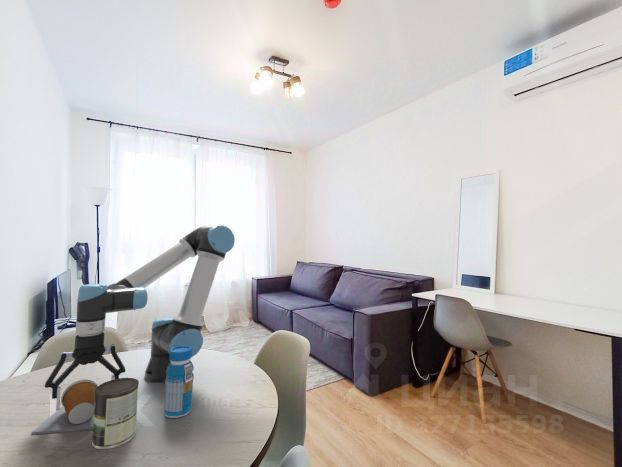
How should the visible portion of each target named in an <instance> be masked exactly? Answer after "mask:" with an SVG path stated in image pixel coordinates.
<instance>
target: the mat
mask: <svg viewBox="0 0 622 467" xmlns="http://www.w3.org/2000/svg"><path fill="white" fill-rule="evenodd" d="M93 425H94V414H93V416H92V417H91V418H90V419H89V420H88V421H86V422H84V423H81V424H72V423H70V422H69V420H68V418H67V414H66V411H65V408H64V406H63V405H62V406H61V407H60V408H59V410H57V411H56V410H55V412H54V413H53V414H51V415H49V417H47V419H46V420H45V421H43V422H42V423H41V424H39V426H37V427H35V429H33V431H32V432H31V436H32V435H41V434H43V435H44V434H53V433H54V434H55V433H66V432H77V431H88V430H93Z"/></svg>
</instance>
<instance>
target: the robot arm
mask: <svg viewBox="0 0 622 467" xmlns="http://www.w3.org/2000/svg"><path fill="white" fill-rule="evenodd" d="M234 245H235V235H234V233H233V230H232V229H230V228H229V227H228V226H226V225H223V224H214V225H212V224H211V225H203V226H199V227H198V228H196V229H193V231H190V232H189V233H188V234H187V235H185V236H183V237H181V239H179V241H178V243H176V244H175V245H174V246H172V247H171V248H169V249H168V250H166V251H164V252H162V253H161V254H160V255H158V256H157V257H155V258H154V259H152V260H150V261H149V262H147V263H146V264H144V265H143V266H141V267H139V268H137V269H136V270H135V271H134V272H132V273H130V274H128V275H127V276H126V277H124V278H122V279H121V280H119V281H117V282H115V283H112V284H108V285H107V284H105V283H90V284H89V283H88V284H83V285H80V287H79V288H78V296H77V299H76V301H77V302H76V304H77V305H76V306H77V307H76V321H75V338H74V349H73V351H69V352H67V351H62V352H61V356H60V359H59V361H58V362H57V364H56V365H55V367H54V369H53V370H52V372H51V373H50V375H49V376H48V378H47V380H46V381H45V383H44V388H45V389H48V388H51V389H52V390H51V399H52V400H55V399H56V403H55V404H56V407H55V412H56V411H58V410H59V409H60V408H61V407H60V406H61V396H62V383H63V382H64V381H65V380H66V378H68V376H69V375H70V374H71V373H72V372H73V371H74V370H75V369H77V367H78V366H80V365H82V366H86V365H88V364H95V363H96V362H99V363H100V364H101V365H103V366H104V367H105V368H106V369H107V370H108V371H109V372H111V373H112V374H111V378H110V379H111V380H114V379H119V378H120V375H121V374H123V373H125V372H126V368H125V365H124V364H123V361H122V360H121V358H120V357H119V355H118V354H117V351H116V346H115V344H110V345H108V346H105V332H104V331H105V329H106V318H107V317H106V316H107V313H115V312H125V311H136V310H141V309H144V308H145V307H146V306H147V304H148V298H149V296H148V291H147V289H146V288H147V287H148V286H150V285H152V284H153V283H154V282H155V281H157V280H158V279H160V278H161V277H163V276H164V275H166V274H168V272H170V271H171V270H173V269H174V268H176V267H178V266H179V265H180V264H181V263H183V262H185V261H186V260H188V259H190V258H195V257H196V256H197V261H196V264H195V267H194V269H193V272H192V274H191V279H190V281H189V284H188V287H187V290H186V292H185V295H184V298H183V301H182V304H181V308H180V310H179V313H178V315H177V316H171V317H165V318H164V317H163V318H158V319H154V320H153V322H152V326H151V339H150V340H151V341H150V343H151V344H150V345H151V346H150V358H149V361H148V363H147V365H146V368H145V370H144V378H145V381H148V382H153V383H154V382H155V383H156V382H157V383H158V382H159V383H161V382H165V379H166V377H167V374H166V370H167V367H168V366H169V364H170V363H171V361H170V360H169V353H170V349H172V348H174V347H177V346H190V347H191V348H192V357H191V359H192V358H193V357H194V356H196V355H197V354H198V353H199V352H200V351H201V349H202V347H203V344H204V336H203V333H202V330H203V326H204V324H203V322H202V316H203V314H204V310H205V307H206V304H207V302H208V298H209V295H210V292H211V289H212V286H213V283H214V281H215V280H214V279H215V278H216V277H215V276H216V274H217V270H218V268H219V266H220V263H221V262H222V261H224V260H225V258H226V255H227V253H229V252H230V251H231V250H232V249H233V248H234V247H235V246H234ZM105 352H107V353H108V354H111V356H112V358H113V360H114V362H115V363H116V365H117V367H118V368H117V367H116V366H114V365H113V364H112V363H111V362H110V361H108V360H107V359H106V358H105V357H104V354H105ZM70 357H72V358H73V360H74V361H72V363H71V364H70V365H69V366H68V367H67V368H66V369H65V370H64V371H63V372H62V373H61V374H60V375H59V376H58V377H57V375H58V374H59V373H60V370H61V369H62V368H63V366H64V365H65V363H66V361H68V360H69V359H70ZM56 377H57V379H56ZM54 380H55V381H54Z"/></svg>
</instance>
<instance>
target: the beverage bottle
mask: <svg viewBox="0 0 622 467" xmlns="http://www.w3.org/2000/svg"><path fill="white" fill-rule="evenodd" d="M191 357H192V348H191V347H190V346H177V347H174V348H172V349H170V353H169V360H170V361H171V363H170V364H169V366H168V367H167V370H166V374H167V377H166V379H165V381H164V383H165V392H164V412H163V413H164V415H165V417H167V418H170V419H177V418H178V419H179V418H182V417H184V416H186V415H188V414H189V413H191V411H192V410H193V388H194V387H193V385H194V377H195V376H194V373H193V372H194V367H195V366H194V364H193V362H192V360H191V359H192V358H193V357H192V358H191Z"/></svg>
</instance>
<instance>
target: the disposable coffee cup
mask: <svg viewBox="0 0 622 467" xmlns="http://www.w3.org/2000/svg"><path fill="white" fill-rule="evenodd" d="M98 386H99V385H98V384H97V382H95V381H94V380H91V379H88V378H83V379H79V380H76V381H74V382H72V383H70V384H69V385H68V386H67V387H66V388H65V389H64V390H63V392H62V393H61V396H60V404H62V406H64V408H65V411H66V414H67V418H68V420H69V422H70V423H72V424H81V423H84V422H86V421H88V420H89V419H90V418H91V417H92V416H93V414H94V407H95V389H96V388H97V387H98Z"/></svg>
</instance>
